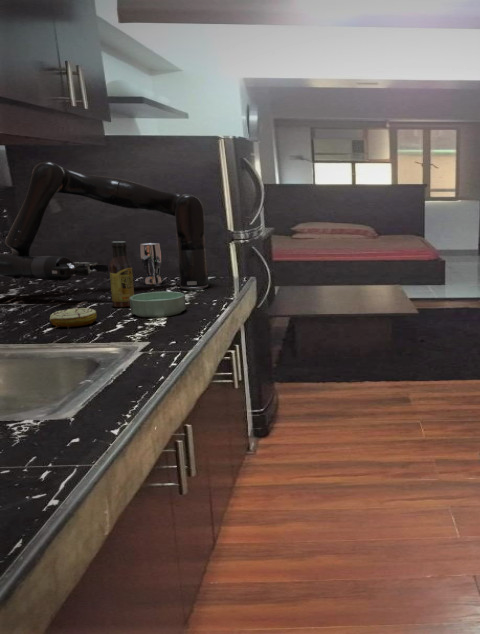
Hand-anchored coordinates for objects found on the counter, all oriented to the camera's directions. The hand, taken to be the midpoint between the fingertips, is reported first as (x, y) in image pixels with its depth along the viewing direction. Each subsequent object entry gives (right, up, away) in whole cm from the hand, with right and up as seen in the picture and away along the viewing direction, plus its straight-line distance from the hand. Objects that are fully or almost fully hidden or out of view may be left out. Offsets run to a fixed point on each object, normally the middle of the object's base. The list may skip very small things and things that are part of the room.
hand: (97, 269), depth 184 cm
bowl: (+22, -13, -8) cm, 27 cm away
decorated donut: (+6, -17, -23) cm, 29 cm away
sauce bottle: (+8, -11, +1) cm, 14 cm away
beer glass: (-2, -2, +41) cm, 41 cm away
